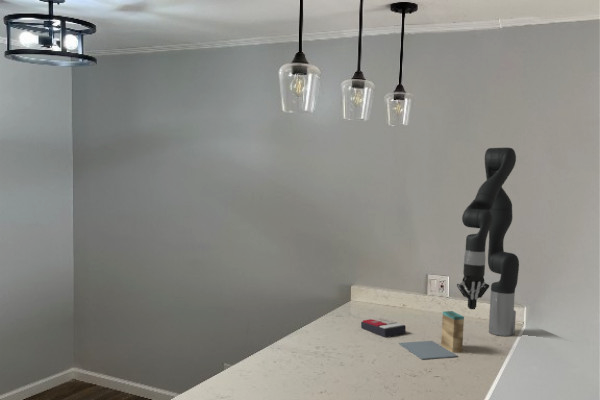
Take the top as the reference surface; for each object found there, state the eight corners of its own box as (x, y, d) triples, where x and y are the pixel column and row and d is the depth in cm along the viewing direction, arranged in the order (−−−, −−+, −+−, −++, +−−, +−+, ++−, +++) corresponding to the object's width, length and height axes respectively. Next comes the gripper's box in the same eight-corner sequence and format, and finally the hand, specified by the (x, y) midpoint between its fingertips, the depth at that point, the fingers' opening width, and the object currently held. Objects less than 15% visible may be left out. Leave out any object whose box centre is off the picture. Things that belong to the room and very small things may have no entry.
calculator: (381, 316, 250) (406, 323, 238) (381, 326, 251) (406, 334, 238) (360, 319, 244) (385, 327, 232) (360, 330, 245) (385, 338, 232)
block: (450, 345, 225) (452, 311, 224) (462, 351, 218) (463, 316, 217) (441, 345, 224) (442, 311, 223) (452, 352, 216) (454, 317, 216)
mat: (432, 341, 229) (432, 340, 228) (457, 356, 211) (457, 355, 211) (398, 343, 224) (398, 342, 224) (422, 359, 207) (422, 358, 207)
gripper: (484, 261, 227) (481, 306, 228) (453, 261, 223) (450, 306, 224) (496, 264, 219) (493, 310, 220) (464, 264, 216) (461, 312, 217)
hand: (471, 308), depth 222 cm, fingers closed
